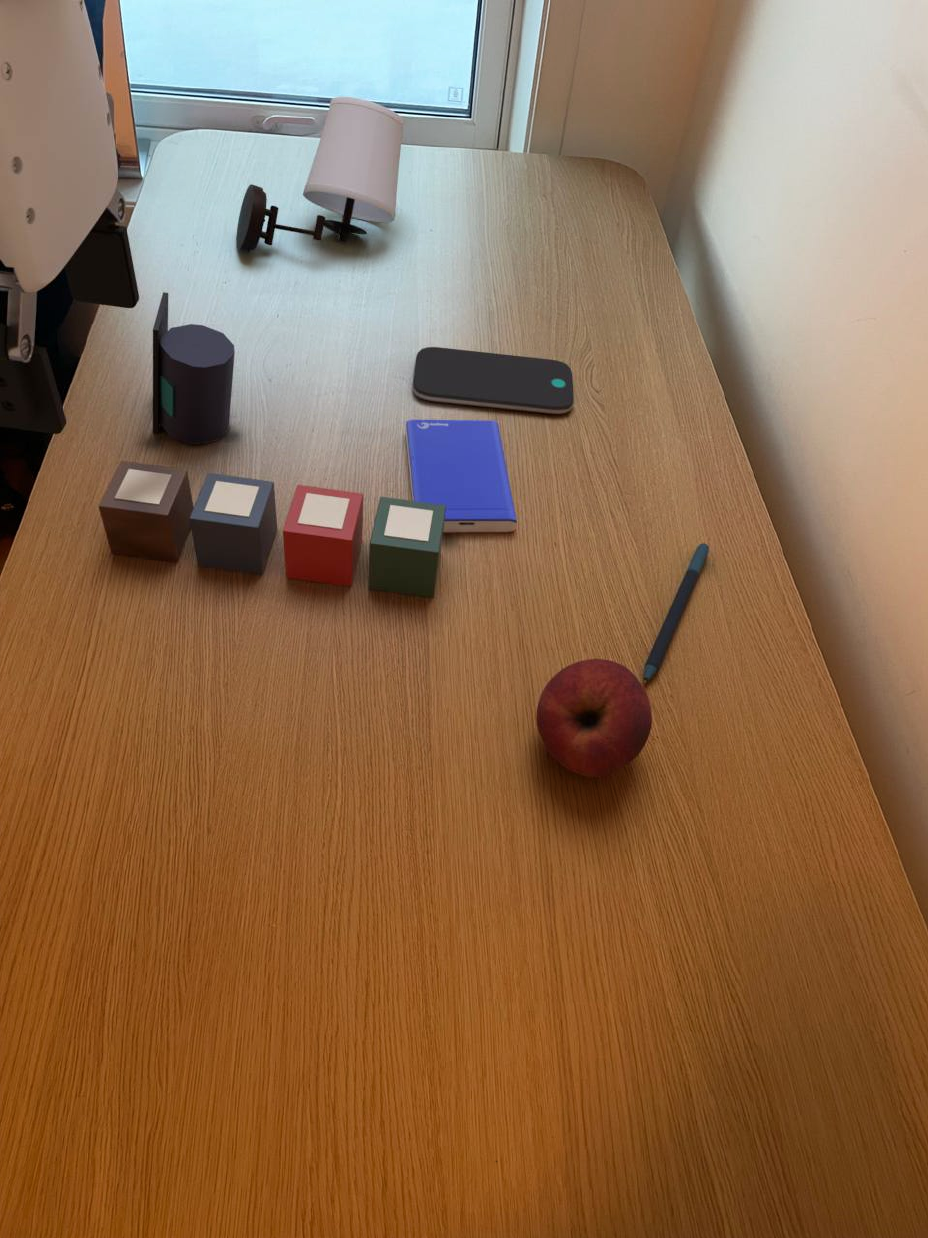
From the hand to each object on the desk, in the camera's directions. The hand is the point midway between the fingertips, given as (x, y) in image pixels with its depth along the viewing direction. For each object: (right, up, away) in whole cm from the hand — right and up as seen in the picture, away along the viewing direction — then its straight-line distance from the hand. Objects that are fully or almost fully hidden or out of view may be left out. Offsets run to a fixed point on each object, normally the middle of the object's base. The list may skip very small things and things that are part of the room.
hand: (70, 359), depth 43 cm
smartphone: (+21, +10, +46) cm, 51 cm away
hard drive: (+18, 0, +37) cm, 41 cm away
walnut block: (-6, -6, +29) cm, 30 cm away
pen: (+34, -12, +29) cm, 47 cm away
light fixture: (+2, +31, +61) cm, 68 cm away
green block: (+14, -8, +29) cm, 33 cm away
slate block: (+1, -6, +29) cm, 30 cm away
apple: (+26, -21, +21) cm, 39 cm away
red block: (+7, -7, +29) cm, 31 cm away
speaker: (-5, +5, +38) cm, 39 cm away
